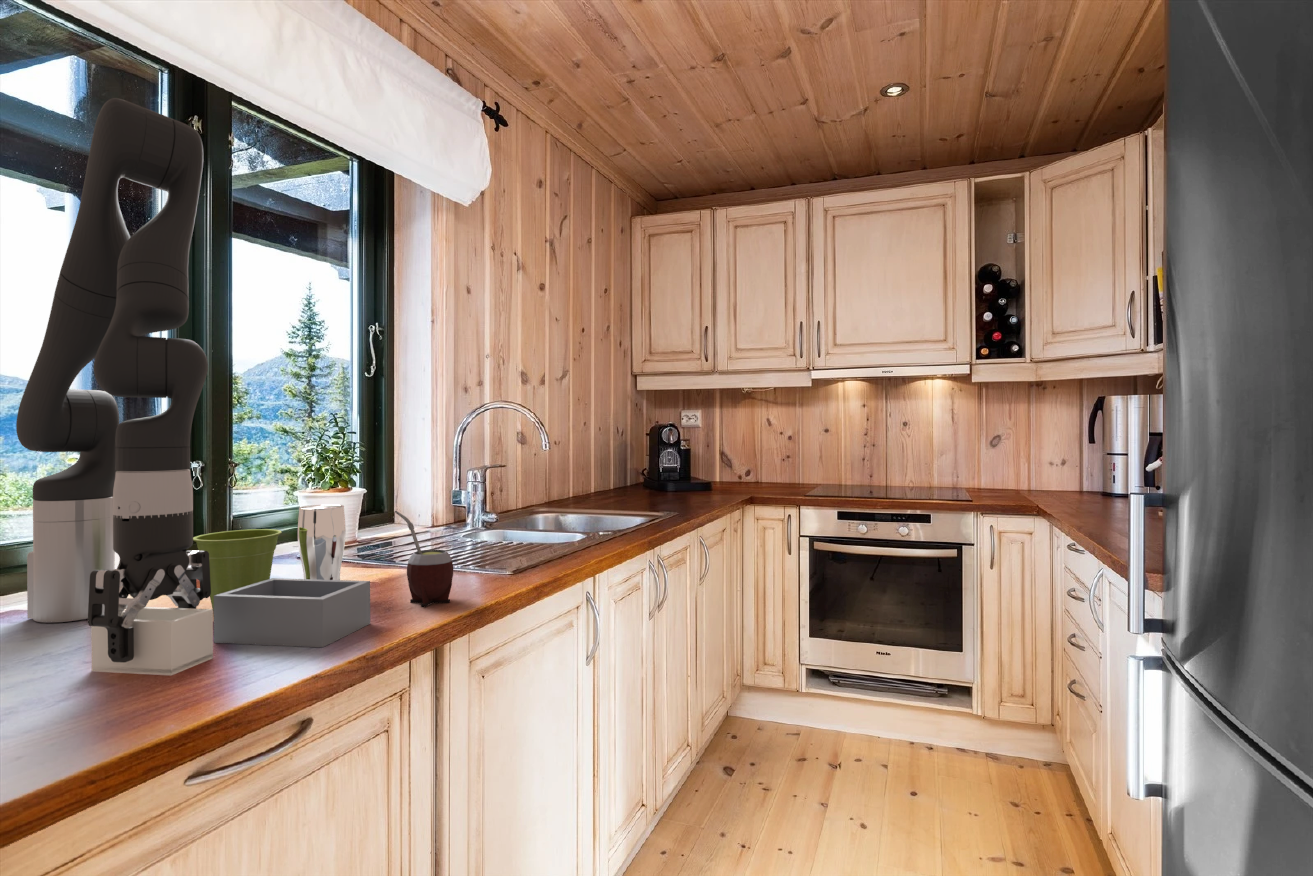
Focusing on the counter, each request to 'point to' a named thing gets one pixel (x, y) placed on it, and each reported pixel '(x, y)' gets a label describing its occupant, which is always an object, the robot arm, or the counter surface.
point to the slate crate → (291, 612)
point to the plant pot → (238, 557)
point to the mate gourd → (428, 573)
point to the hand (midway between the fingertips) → (154, 649)
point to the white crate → (160, 642)
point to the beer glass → (321, 540)
